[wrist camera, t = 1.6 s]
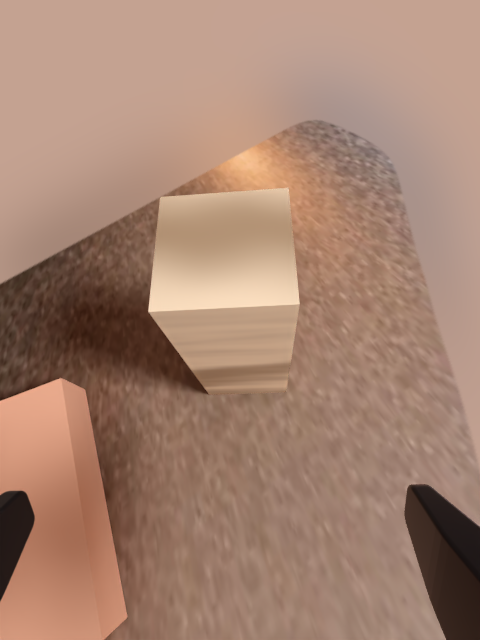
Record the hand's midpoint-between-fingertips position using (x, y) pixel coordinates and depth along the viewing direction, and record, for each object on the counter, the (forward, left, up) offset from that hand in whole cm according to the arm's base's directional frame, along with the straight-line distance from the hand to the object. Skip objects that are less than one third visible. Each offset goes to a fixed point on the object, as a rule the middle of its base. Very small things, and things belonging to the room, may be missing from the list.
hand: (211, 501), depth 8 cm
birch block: (+8, -3, -14) cm, 16 cm away
